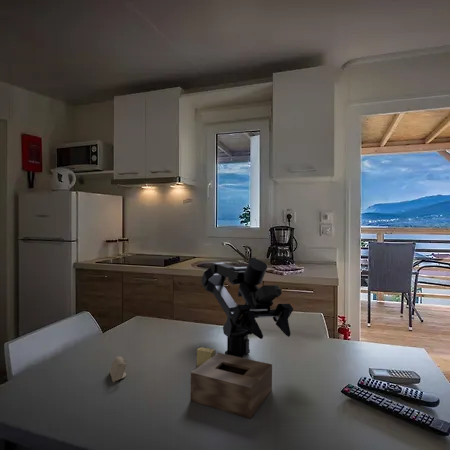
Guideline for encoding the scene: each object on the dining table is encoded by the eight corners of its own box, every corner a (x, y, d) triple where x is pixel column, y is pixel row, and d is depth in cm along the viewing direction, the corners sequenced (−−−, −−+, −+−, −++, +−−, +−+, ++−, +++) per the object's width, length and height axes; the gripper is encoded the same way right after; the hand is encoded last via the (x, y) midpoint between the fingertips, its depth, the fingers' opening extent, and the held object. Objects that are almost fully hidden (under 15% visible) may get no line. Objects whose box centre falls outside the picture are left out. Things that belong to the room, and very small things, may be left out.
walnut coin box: (190, 400, 82) (190, 372, 82) (218, 377, 95) (218, 352, 95) (250, 418, 75) (250, 387, 75) (271, 391, 87) (272, 364, 87)
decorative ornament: (123, 369, 100) (123, 351, 100) (128, 381, 92) (128, 362, 92) (109, 372, 98) (109, 354, 98) (113, 384, 90) (113, 365, 90)
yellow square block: (196, 365, 103) (196, 349, 103) (201, 362, 105) (201, 346, 105) (210, 369, 100) (210, 352, 100) (215, 366, 102) (215, 349, 102)
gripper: (235, 275, 96) (258, 317, 84) (287, 276, 104) (315, 314, 92) (222, 304, 101) (242, 347, 89) (273, 303, 109) (298, 342, 97)
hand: (276, 336), depth 92 cm, fingers open, 9 cm apart
